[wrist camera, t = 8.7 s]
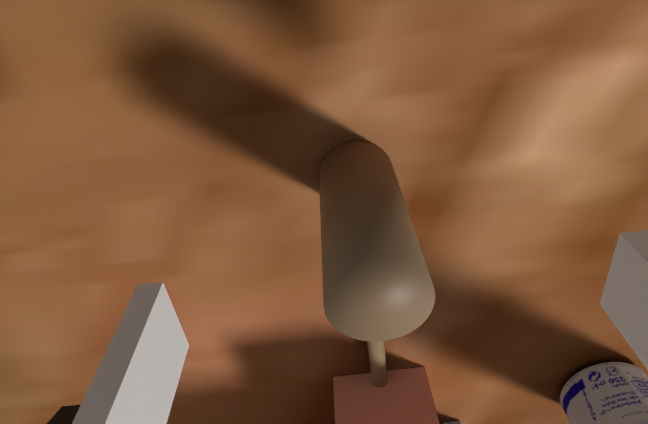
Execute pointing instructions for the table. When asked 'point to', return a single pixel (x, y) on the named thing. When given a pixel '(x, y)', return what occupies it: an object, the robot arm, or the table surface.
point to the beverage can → (607, 395)
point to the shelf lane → (452, 422)
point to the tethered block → (373, 283)
